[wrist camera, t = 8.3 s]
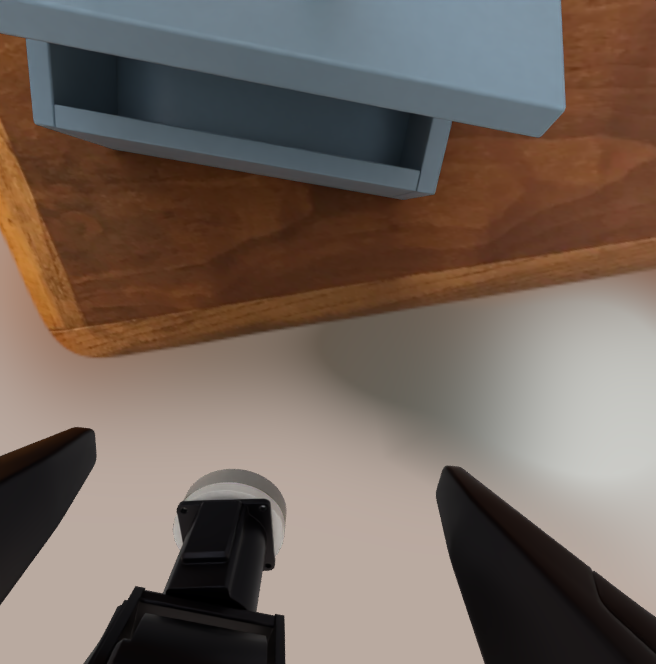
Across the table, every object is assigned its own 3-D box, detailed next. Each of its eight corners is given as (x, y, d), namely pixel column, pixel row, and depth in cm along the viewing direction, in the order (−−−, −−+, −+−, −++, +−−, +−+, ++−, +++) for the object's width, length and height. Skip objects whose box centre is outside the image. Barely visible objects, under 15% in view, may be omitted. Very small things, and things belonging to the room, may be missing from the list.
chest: (404, 199, 19) (435, 194, 14) (111, 149, 18) (32, 123, 13) (462, -74, 16) (531, -211, 11) (101, -160, 14) (-15, -362, 9)
